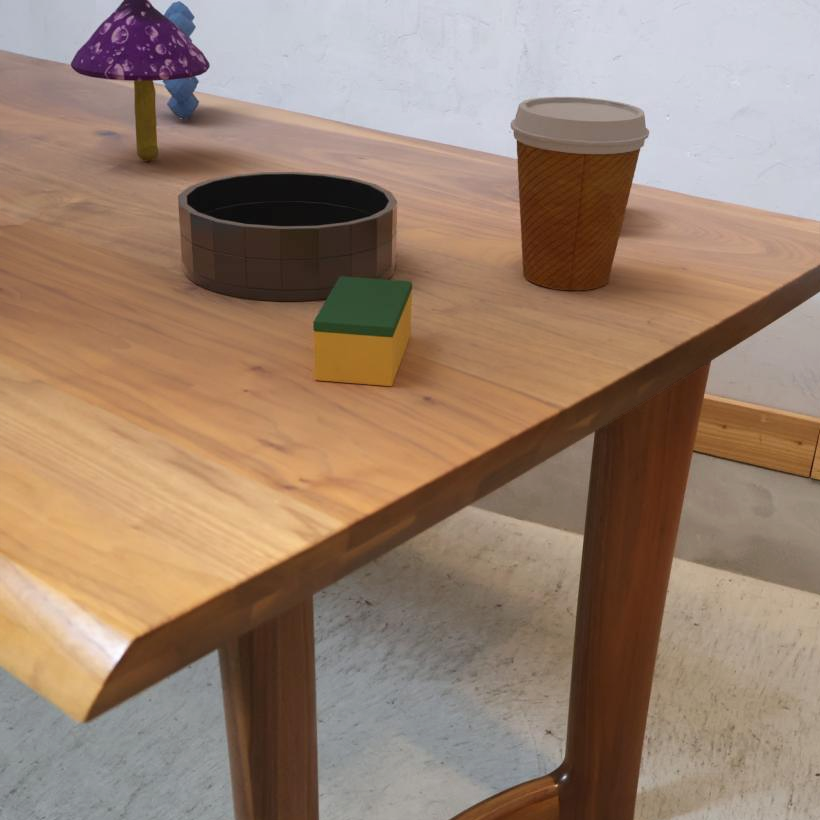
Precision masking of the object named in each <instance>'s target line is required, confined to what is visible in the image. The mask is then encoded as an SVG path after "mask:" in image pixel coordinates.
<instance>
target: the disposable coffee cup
mask: <svg viewBox="0 0 820 820" xmlns="http://www.w3.org/2000/svg"><path fill="white" fill-rule="evenodd" d="M510 129H511V130H512V131H513V138H514V139H515V140H516V157H517V180H518V199H519V215H520V216H519V217H520V218H519V219H520V220H519V222H520V234H521V235H520V240H521V255H522V256H521V257H522V275H523V277H524V278H525V279H526V280H528V281H529V282H531V283H533V284H536V285H538V286H542V287H545V288H548V289H549V288H550V289H554V290H561V291H587V290H594V289H598V288H602V287H603V286H605V285H607V284H608V283H609V282H610V278H611V272H612V268H613V264H614V261H615V260H614V259H615V255H616V252H617V247H618V243H619V240H620V234H621V231H622V228H623V223H624V219H625V215H626V209H627V206H628V202H629V198H630V194H631V189H632V186H633V181H634V178H635V172H636V168H637V165H638V161H639V155H640V152H641V148H643V147H644V146H645V142H646V140H647V139H648V138H649V135H650V129H648V128H647V126H646V115H645V111H644V110H643V109H642V108H640V107H638V106H635V105H631V104H628V103H625V102H620V101H614V100H609V99H604V98H603V99H602V98H595V97H594V98H593V97H582V96H581V97H580V96H578V97H577V96H548V97H536V98H530V99H526V100H523V101H521V102H520V103H518V107H517V110H516V114H515V117H514V119H512V120H511V122H510Z"/></svg>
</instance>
